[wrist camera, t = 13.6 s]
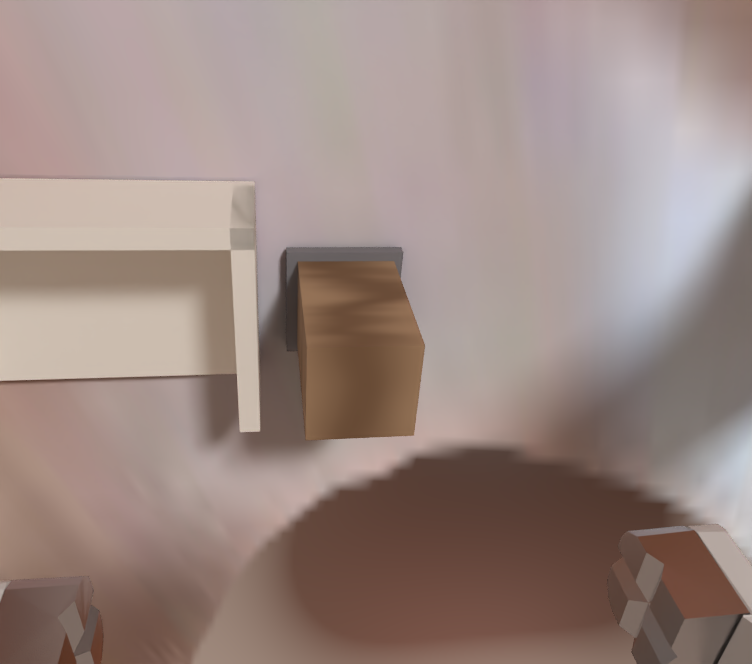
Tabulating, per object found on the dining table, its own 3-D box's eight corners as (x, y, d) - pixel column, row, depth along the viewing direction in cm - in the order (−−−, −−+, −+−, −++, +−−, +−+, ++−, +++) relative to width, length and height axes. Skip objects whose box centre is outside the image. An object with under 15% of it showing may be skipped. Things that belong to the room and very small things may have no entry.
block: (394, 261, 36) (424, 345, 29) (386, 341, 39) (413, 435, 32) (297, 261, 35) (306, 348, 29) (297, 343, 38) (305, 440, 31)
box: (254, 181, 33) (254, 228, 29) (259, 367, 39) (260, 431, 35) (-110, 176, 31) (-174, 227, 26) (-46, 376, 37) (-90, 446, 32)
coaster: (401, 247, 36) (403, 252, 36) (392, 342, 39) (393, 348, 39) (286, 247, 35) (286, 252, 35) (286, 345, 39) (286, 351, 38)
